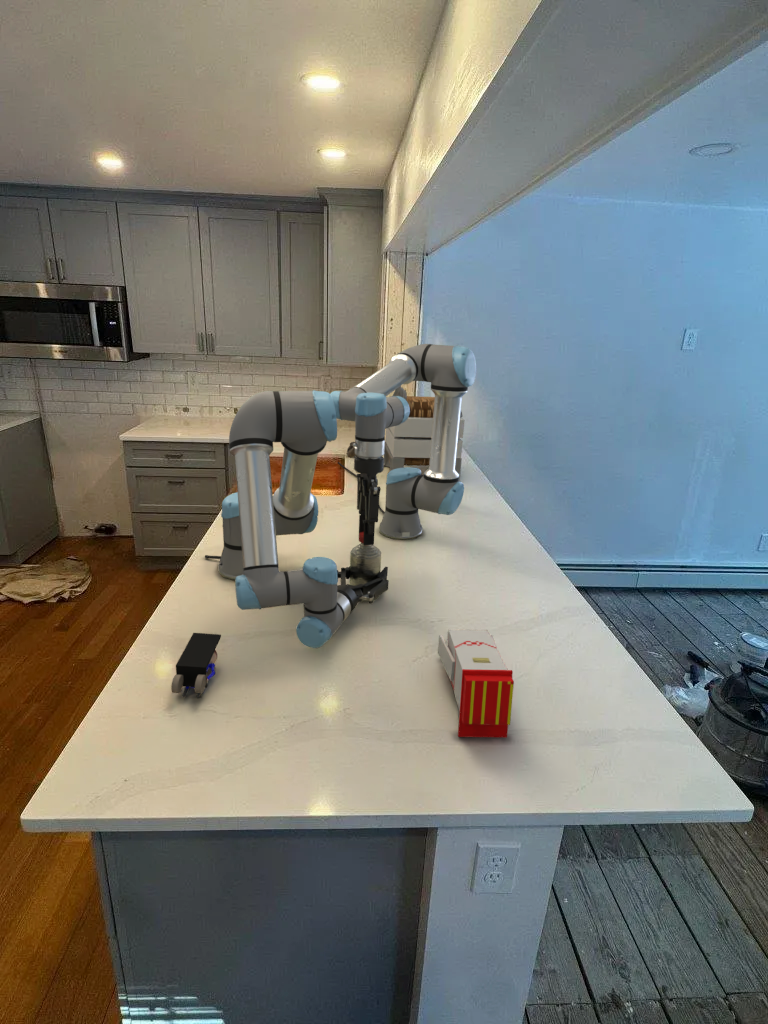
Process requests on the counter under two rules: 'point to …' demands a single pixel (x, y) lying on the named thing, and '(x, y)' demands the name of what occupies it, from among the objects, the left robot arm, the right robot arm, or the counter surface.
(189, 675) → the black toy vehicle
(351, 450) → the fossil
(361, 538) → the cap
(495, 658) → the toy
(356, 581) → the bottle
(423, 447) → the white slatted box
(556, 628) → the counter surface
